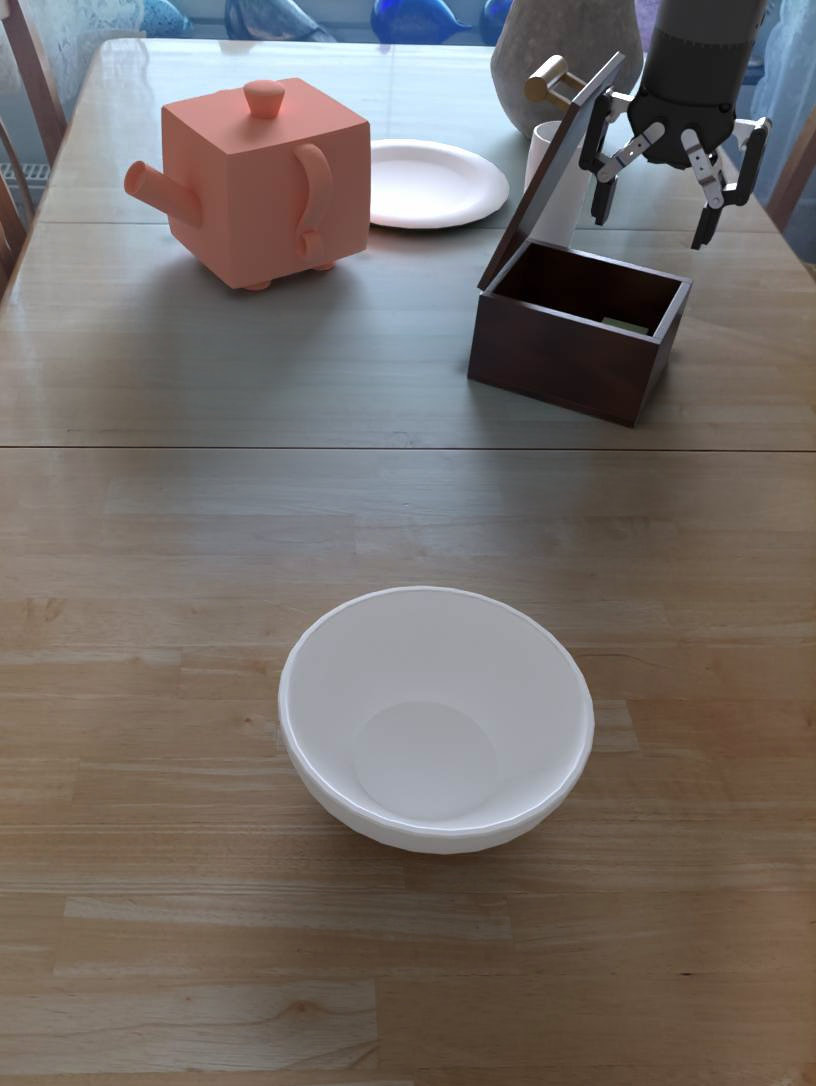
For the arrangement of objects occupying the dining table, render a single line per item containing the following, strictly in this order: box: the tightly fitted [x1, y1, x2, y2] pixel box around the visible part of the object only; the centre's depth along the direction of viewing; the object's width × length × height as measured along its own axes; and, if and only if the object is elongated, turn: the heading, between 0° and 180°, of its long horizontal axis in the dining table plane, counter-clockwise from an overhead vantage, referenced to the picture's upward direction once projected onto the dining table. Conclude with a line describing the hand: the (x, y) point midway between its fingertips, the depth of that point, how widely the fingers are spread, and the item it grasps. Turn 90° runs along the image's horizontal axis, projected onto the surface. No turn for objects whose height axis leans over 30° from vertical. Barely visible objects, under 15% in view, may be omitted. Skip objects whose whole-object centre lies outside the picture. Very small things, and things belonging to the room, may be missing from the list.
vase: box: [489, 0, 645, 141], centre depth 126 cm, size 20×19×25 cm
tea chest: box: [466, 237, 695, 429], centre depth 93 cm, size 17×13×9 cm
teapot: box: [123, 77, 372, 291], centre depth 102 cm, size 25×23×18 cm
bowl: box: [277, 585, 596, 855], centre depth 63 cm, size 20×20×7 cm
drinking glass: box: [523, 121, 593, 248], centre depth 104 cm, size 7×7×15 cm
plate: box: [370, 138, 511, 231], centre depth 121 cm, size 25×25×2 cm
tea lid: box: [476, 52, 626, 292], centre depth 85 cm, size 18×13×5 cm
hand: (648, 234), depth 84 cm, fingers open, 8 cm apart
